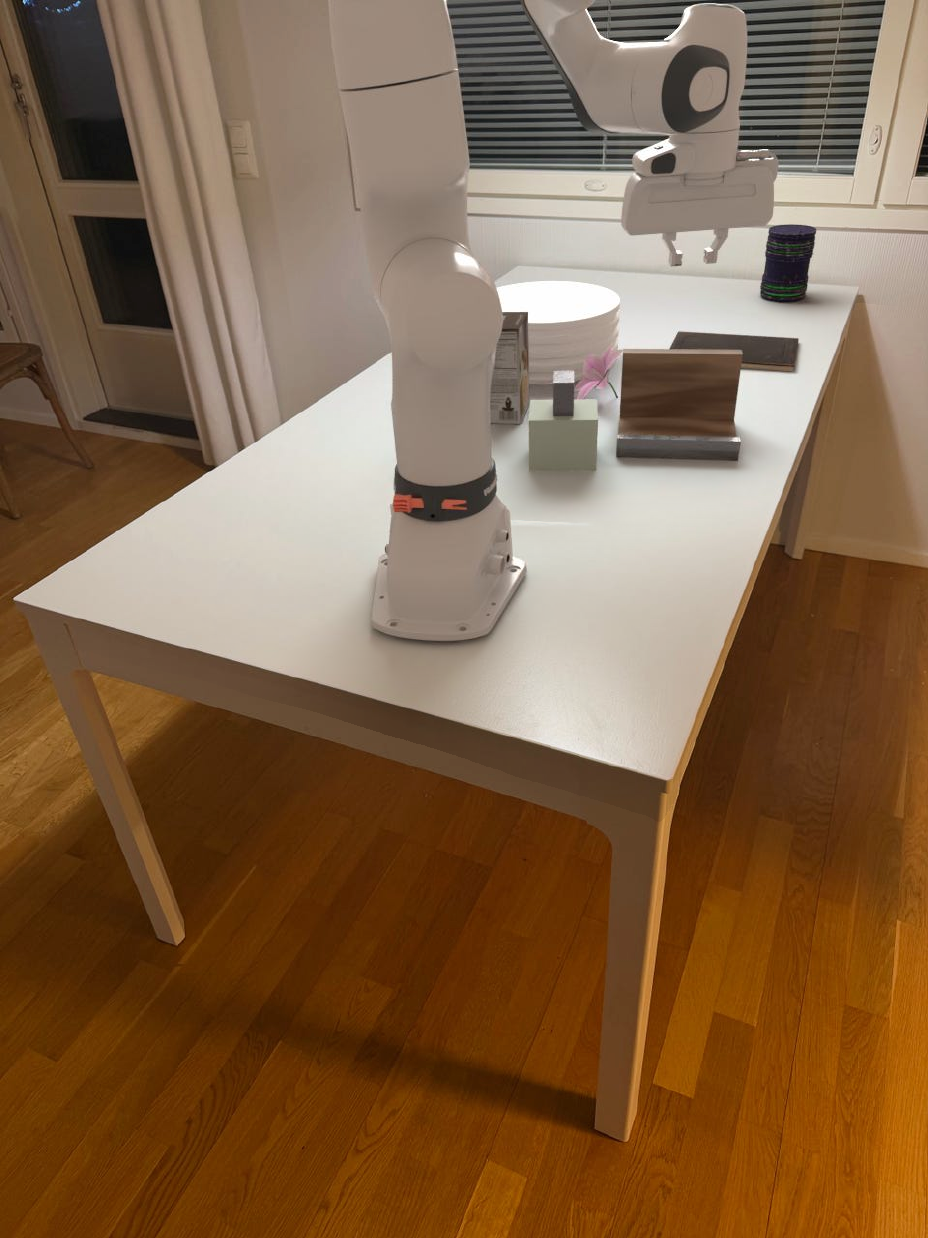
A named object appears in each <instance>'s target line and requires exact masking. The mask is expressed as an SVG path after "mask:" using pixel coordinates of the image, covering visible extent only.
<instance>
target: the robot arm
mask: <svg viewBox="0 0 928 1238" xmlns="http://www.w3.org/2000/svg"><path fill="white" fill-rule="evenodd" d="M519 1H520V4H521V7H522V10H523V12H524V14H525V16H526V19H527V21H528V22H529V24H530V26H531V27H532V30H533V31H534V33H535V35H536V36H537V38H538V40H539V41H540V43H541V45H542V47H543V49H544V50H545V52H546V53H547V55H548V57H549V58H550V60H551V61H552V64H553V65H554V67H555V68H556V71H557V72H558V74H559V75H560V77H561V79H562V81H563V83H564V85H565V87H566V91H567V93H568V95H569V98H570V102H571V105H572V108H573V111H574V113H575V115H576V118H577V119H578V121H579V123H580V125H582V127H583V128H584V129H586V131H588V132H589V133H591V134H594V135H608V134H609V135H610V134H620V133H622V134H623V133H626V134H640V135H664V136H665V135H668V138H667V139H664V140H662V141H660V142H658V143H655V144H653V145H651V146H648V147H645V148H643V149H640V150H638V151H637V152H635V153H634V154H633V156H632V167H633V169H634V171H635V172H634V173H633V174H631V175H630V177H629V178H628V180H627V182H626V185H625V189H624V194H623V199H622V207H621V219H620V225H621V227H622V229H623V230H624V231H625V233H626V234H627V235H629V236H633V237H634V236H645V235H657V234H658V235H659V234H662V236H661V239H662V240H663V242H664V244H665V247H666V248H667V251H668V265H669V266H670V267H680V266H682V265H683V261H682V259H683V257H684V256H683V255H684V254H683V252H682V251H681V250H680V249H678V250H677V249H676V248H675V245H674V244H673V242H674V241H676V240H677V233H688V232H699V231H713V235H714V236H715V238H714V240H713V241H712V243H711V245H710V246H709V247H705V248H703V254H704V255H703V259H702V260H703V263H704V264H705V265H709V264H710V265H712V264H716V263H717V262H718V254H719V251H720V249H721V248H722V247H723V245H724V244H725V242H726V240H727V239H728V237H729V229H740V228H742V229H743V228H754V227H765V226H767V225H768V224H769V223H770V222H771V220H773V219H772V218H773V216H774V208H775V206H774V205H775V184H774V183H775V181H776V179H777V177H778V173H779V172H778V171H779V164H780V163H779V159H778V157H777V155H776V154H775V153H773V152H771V151H770V150H769V149H759V150H738V147H739V137H740V126H741V121H740V114H739V110H740V109H739V108H740V101H741V98H742V94H743V92H744V89H745V83H746V72H747V59H748V53H747V52H748V28H747V27H748V26H747V19H746V15H745V12H744V11H743V10H741V9H740V8H739V7H737V6H735V5H731V4H725V3H722V4H721V3H714V2H713V3H710V2H709V3H697V4H693V5H691V6H690V5H689V6H688V7H687V8H685V9H684V11H683V13H682V16H681V21H680V25H679V26H678V28H677V29H676V30H675V31H674V32H673V33H672V34H670V35H668V37H666V38H664V39H663V41H657V42H619V41H614V40H610V39H607V38H605V37H603V36H602V35H600V33H599V31H598V30H597V27H596V25H595V23H594V22H593V20H592V18H591V15H590V14H589V12H588V10H587V9H588V8H589V7H590V6H591V5H593V4H594V2H596V1H597V0H519ZM447 3H448V0H327V6H328V20H329V21H328V22H329V31H330V40H331V42H330V43H331V49H332V51H331V52H332V56H333V57H332V58H333V64H334V70H335V76H336V82H337V88H338V89H339V90H338V94H339V97H340V102H341V107H342V108H341V109H342V114H343V118H344V124H345V128H346V133H347V138H348V139H347V140H348V144H349V145H348V146H349V149H350V154H351V160H352V164H353V170H354V174H355V180H356V187H357V193H358V201H359V209H360V215H361V216H360V218H361V225H362V229H363V230H362V231H363V236H364V238H363V239H364V245H365V251H366V256H367V263H368V270H369V275H370V280H371V287H372V291H373V296H374V299H375V301H376V305H377V306H378V308H379V309H380V311H381V313H382V315H383V317H384V319H385V321H386V325H387V328H388V331H389V332H388V333H389V337H390V338H389V339H390V344H391V345H390V347H391V366H392V368H391V369H392V371H391V372H392V374H391V375H392V378H391V379H392V383H391V384H392V388H391V390H392V393H391V394H392V395H391V402H390V409H391V417H392V420H391V421H392V428H393V429H392V430H393V438H394V445H395V446H394V448H395V457H396V465H395V467H394V478H393V492H394V495H393V497H392V498H393V500H392V503H391V504H389V509H390V515H391V517H390V526H389V535H388V537H389V538H388V543H386V544H385V546H384V554H381V555H380V556H379V557H378V565H377V569H376V570H377V571H376V578H375V579H376V580H375V585H374V586H375V587H374V596H373V602H372V610H371V620H370V621H371V627H372V628H373V629H376V630H377V631H378V632H381V633H384V634H386V635H390V636H394V637H398V638H404V639H411V640H420V641H421V640H422V641H434V642H435V641H439V642H445V641H446V642H449V641H450V642H451V641H452V642H453V641H465V640H471V639H476V638H480V637H483V636H486V635H488V634H489V633H490V632H491V631H492V629H493V628H494V626H495V624H496V622H497V621H498V619H499V618H500V616H501V614H502V613H503V612H504V610H505V608H506V607H507V605H508V603H509V601H511V598H512V597H513V595H514V594H515V592H516V590H517V588H518V587H519V586H520V584H521V582H522V580H523V579H524V577H525V576H526V573H527V572H528V571H527V569H528V568H527V564H526V562H525V561H524V560H523V559H521V558H518V557H516V556H514V553H513V537H512V523H511V513H510V512H511V511H510V509H509V508H508V507H507V506H506V505H505V504H504V503H503V502H502V500H500V498H499V497H498V495H497V490H498V489H497V488H498V486H497V482H498V472H497V469H496V468H497V466H496V461H495V459H494V458H493V457H492V454H493V453H492V429H491V428H492V426H491V424H492V423H490V393H491V384H492V377H493V370H494V363H495V355H496V345H497V343H498V340H499V338H500V335H501V331H502V325H503V314H502V307H501V302H500V298H499V294H498V291H497V288H498V287H497V286H496V283H495V281H494V279H493V277H492V275H491V274H490V273H489V271H488V270H487V269H486V267H484V265H482V264H481V262H480V261H478V260H477V259H476V258H475V256H474V255H473V252H472V249H471V245H470V241H469V232H468V230H469V229H468V227H469V225H468V182H469V181H468V179H469V173H470V164H471V163H470V154H469V153H470V152H469V146H468V145H469V144H468V137H467V131H466V130H467V129H466V119H465V113H464V106H463V105H464V104H463V98H462V97H463V96H462V89H461V82H460V74H459V73H460V72H459V69H458V68H459V67H458V66H459V65H458V58H457V51H456V50H457V49H456V44H455V40H454V34H453V28H452V23H451V18H450V14H449V10H448V9H449V8H448V6H447V5H448V4H447Z"/></svg>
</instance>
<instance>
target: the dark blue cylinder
mask: <svg viewBox="0 0 928 1238" xmlns="http://www.w3.org/2000/svg"><path fill="white" fill-rule="evenodd" d="M816 234H817V228H816V227H814V226H811V225H806V224H790V223H789V224H778V225H773V226H770V227H769V228H768V236H767V241H766V245H765V252H764V253H765V254H764V256H765V260H764V261H765V263H764V269H763V270H764V271H763V274H762V275H761V282H760V287H759V291H760V292H759V295H760V298H761V299H763V300H764V301H768V302H771V303H772V302H773V303H780V304H781V303H786V304H787V303H795V302H800V301H803V300H804V298H805V296H806V294H807V290H808V286H809V285H808V282H809V270H810V263H811V259H812V257H813V255H814V249H815V244H816V242H815V240H816Z"/></svg>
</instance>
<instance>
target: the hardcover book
mask: <svg viewBox="0 0 928 1238" xmlns="http://www.w3.org/2000/svg"><path fill="white" fill-rule="evenodd" d="M799 340H800V339H799V338H798V337H781V336H767V335H764V336H763V335H749V334H732V333H713V332H697V331H696V332H695V331H680V330H678V331H677V333H676V335H675V337H674V339H673V341H672V342H671V345H670V346H669V349H702V350H742V353H743V356H742V363H741V369H742V368H743V369H757V370H771V371H772V370H774V371H784V372H785V371H786V372H787V371H788V372H793V370H794V368H795V363H796V358H797V351H798V345H799Z"/></svg>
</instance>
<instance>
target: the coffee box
mask: <svg viewBox="0 0 928 1238" xmlns="http://www.w3.org/2000/svg"><path fill="white" fill-rule="evenodd" d="M502 314H503V325H502V331H501V335H500V338H499V340H498V343H497V345H496V355H495V363H494V370H493V377H492V384H491V393H490V424H499V425H501V424H502V425H503V424H505V425H506V424H507V425H521V424H522V422H523V421H524V417H525V415H526V413H527V411H528V407H530V384H529V352H528V312H502Z"/></svg>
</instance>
